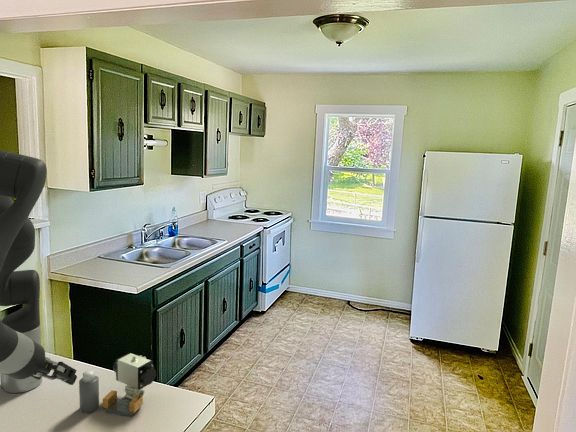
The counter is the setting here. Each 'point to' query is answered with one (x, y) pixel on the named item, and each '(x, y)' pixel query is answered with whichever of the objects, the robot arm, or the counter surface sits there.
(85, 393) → the bottle
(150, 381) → the pneumatic valve
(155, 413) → the counter surface
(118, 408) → the clip bracket
